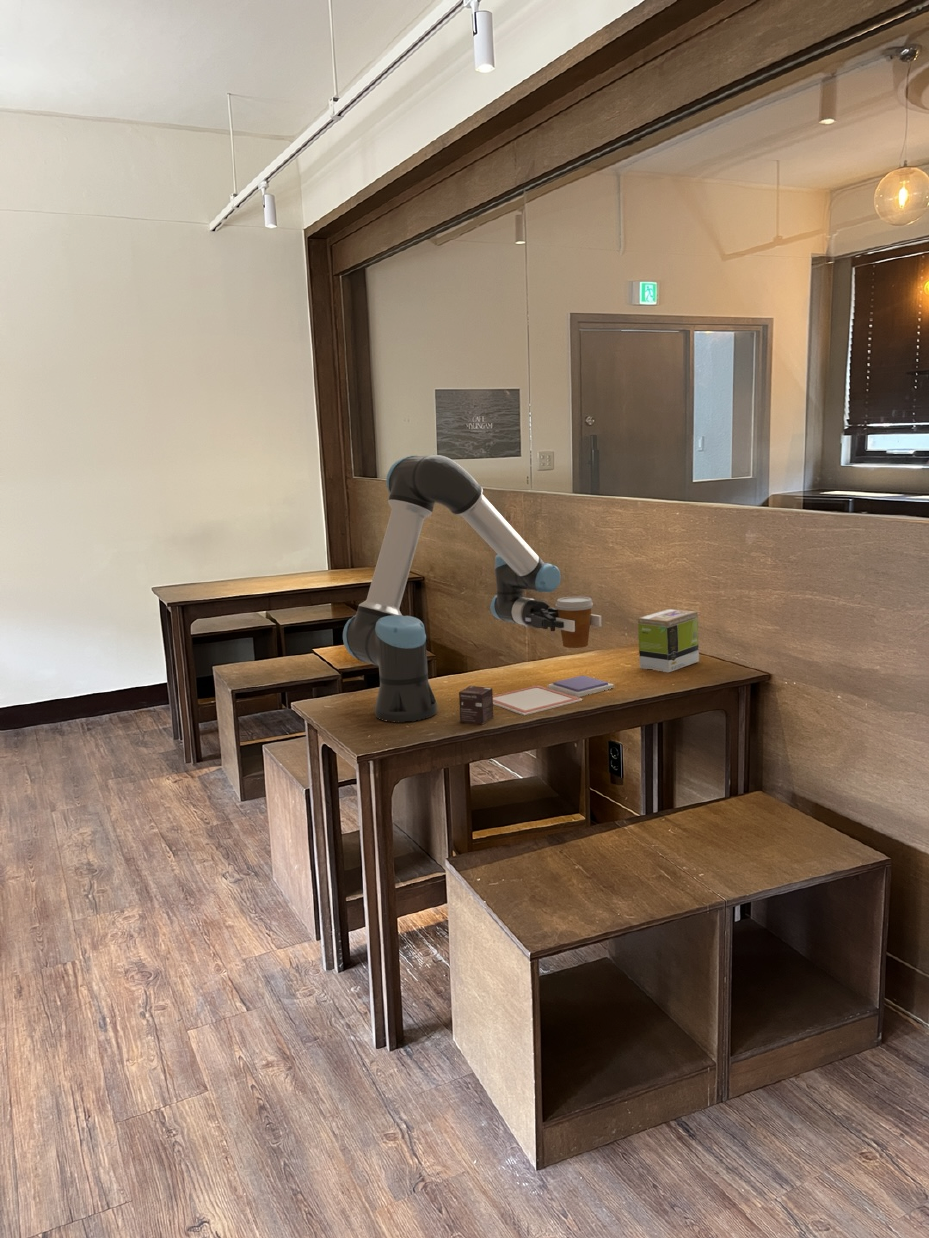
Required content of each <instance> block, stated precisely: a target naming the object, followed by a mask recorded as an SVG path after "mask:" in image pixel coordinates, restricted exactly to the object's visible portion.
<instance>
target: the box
mask: <svg viewBox="0 0 929 1238" xmlns="http://www.w3.org/2000/svg"><path fill="white" fill-rule="evenodd" d="M493 696H494V695H493V687H486V686H485V687H484V686H476V685H469V686H468V687H466V688H464V689H462V690H460V691H459V692H458V699H459V700H458V701H459V703H458V704H459V719H460V720H459V722H460V723H466V724H475V725H484V724H485V723H487V722H488V721H490V720H491V718H492V719H493V718H494V704H493Z"/></svg>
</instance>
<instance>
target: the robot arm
mask: <svg viewBox="0 0 929 1238" xmlns="http://www.w3.org/2000/svg"><path fill="white" fill-rule="evenodd" d="M385 480H386V481H385V482H386V484H385V485H386V488H387V489H388V490H387V492H388V493H389V496H388V500H387V503H388V505H389V507H390V509H391V512H390V515H389V519H388V522H387V526H386V530H385V532H384V533H385V534H384V537H383V540H382V543H381V547H380V550H379V554H378V558H377V562H376V566H375V568H374V573H373V576H372V579H371V583H370V586H369V590H368V593H367V597H366V599H365V600H364V601H363V602H360V603H359V604H358V607H357V610H356V614H355V615H353V616H352V617H351V618H349V619H348V620H347V621H346V623H345V625H344V628H343V631H342V640H343V645H344V648H345V650H346V652H348V654H349V655H350V656H351V657H353V658H355V659H357V660H358V661H360V662H362V663H366V664H371V665H374V666H377V667H378V672H379V689H378V692H377V696H376V700H375V701H376V702H375V705H374V715H376V716H375V718H376V717H377V718H380V719H383V720H387V721H395V722H394V723H405V722H404V721H412V722H416V720H418V721H422V720H421V719H423V720H426V719H429V718H431V717H433V716H435V715H437V713H438V702H437V699H436V697H435V694H434V692H433V690H432V687H431V684H430V682H429V675H428V673H429V671H428V656H427V655H428V653H427V641H426V640H427V634H426V630H425V624H424V623H423V621H421V619H419V618H417V617H415V616H410V615H403V614H402V612H401V611H400V607H401V603H402V600H403V597H404V593H405V589H406V585H407V582H408V579H409V576H410V572H411V568H412V564H413V561H414V556H415V554H416V550H417V546H418V543H419V538H420V535H421V533H422V532H421V531H422V528H423V524H424V521H425V519H426V518H429V517H430V516H432V514H433V511H434V507H435V504H440V505H442V506H444V507H446V508H447V509H448V510H449V512H451V513H452V514H453V515H456V516H461V518H462V519H464V520H465V521H466V523H468V524H469V526H470V527H471V528H472V529H473V531H475V532H476V533H477V534H478V535H479V536H480V537H481V539H482V540H484V541H485V542H486V544H487V545H489V547H490V548H491V549H492V550H493V551H494V552H495V553H496V555H495V558H494V573H495V584H496V595H494V597H493V598H492V599H491V603H490V605H489V607H490V613H491V614H492V616H493V617H495V618H496V619H498V620H500V621H502V622H506V623H513V624H518V625H521V626H522V625H523V626H524V627H525V628H528V627H529V628H534V629H543V630H548V629H549V628H550V632H555V631H556V629H557V630H560V631H561V630H565V631H570V632H575V621H572V620H567V619H562V618H559V615H558V609H557V608H556V607H550V604H548V603H547V602H546V601H545V600H540V599H536V598H535V599H534V598H529V597H524V591H525V590H527V591H533V592H537V593H538V592H539V593H552V592H554V591H556V590H557V589H558V587H559V585H560V583H561V578H562V576H561V571H560V569H559V567H558V566H556V565H554V564H551V563H547V562H546V563H545V562H544V560H543V559H542V558H541V557H540V556H539V555H538V554H537V553H536V551H534V550H533V548H532V547H531V546H530V545H529V544H528V543H527V542H526V540H524V538H522V536H521V535H520V534H519V533H518V532H517V531H516V530H515V529H514V527H513V526H512V525H511V524H510V523H509V522H508V521H507V520H506V518H504V517H503V515H502V514H501V513H500V512H499V511H498V509H496V508H495V506H494V505H493V504H492V503H491V502H490V501H489V500H488V498H486V496H485V495H484V494H483V492H484V490H483V487H482V486H481V485H480V483H479V482H477V480H476V479H475V478H474V477H473V476H472V475H471V473H469V472H468V471H467V470H466V469H465V468H463V467H462V466H461V465H460V464H459V463H457V462H455V461H454V460H453V459H451V458H449V457H447V456H444V455H441V454H433V455H410V456H405V457H402V458H400V459H398V460H397V461H395V462H393V464H392V465H391V466H390V468H389V470H388V472H387V475H386V479H385ZM602 620H603V619H602V615H598V614H592V613H591V619H590V626H593V627H599V628H600V627H602ZM377 718H376V719H377ZM425 718H426V719H425ZM387 721H386V722H387ZM398 721H399V722H398Z"/></svg>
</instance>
